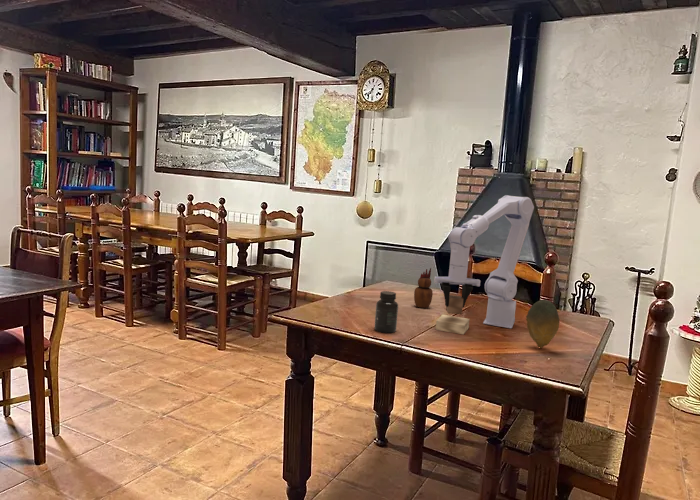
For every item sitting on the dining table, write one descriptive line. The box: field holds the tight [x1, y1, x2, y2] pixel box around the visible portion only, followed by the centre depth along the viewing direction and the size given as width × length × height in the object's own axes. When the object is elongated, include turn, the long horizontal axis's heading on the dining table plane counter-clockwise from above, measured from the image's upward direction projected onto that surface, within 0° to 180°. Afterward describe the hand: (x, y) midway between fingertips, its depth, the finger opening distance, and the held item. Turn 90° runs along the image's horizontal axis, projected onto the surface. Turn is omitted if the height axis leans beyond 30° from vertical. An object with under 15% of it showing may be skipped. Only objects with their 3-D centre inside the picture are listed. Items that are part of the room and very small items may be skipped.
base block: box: [435, 314, 470, 335], centre depth 171 cm, size 9×9×3 cm
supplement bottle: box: [374, 290, 399, 334], centre depth 164 cm, size 7×7×12 cm
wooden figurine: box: [413, 267, 433, 309], centre depth 197 cm, size 7×6×15 cm
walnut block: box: [445, 294, 464, 315], centre depth 171 cm, size 4×4×5 cm
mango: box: [525, 299, 561, 349], centre depth 156 cm, size 10×6×15 cm, turn 48°
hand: (454, 306), depth 171 cm, fingers closed on walnut block, 4 cm apart
